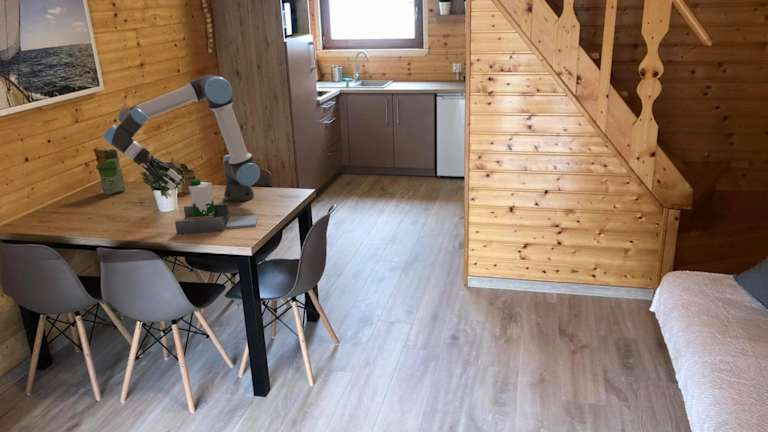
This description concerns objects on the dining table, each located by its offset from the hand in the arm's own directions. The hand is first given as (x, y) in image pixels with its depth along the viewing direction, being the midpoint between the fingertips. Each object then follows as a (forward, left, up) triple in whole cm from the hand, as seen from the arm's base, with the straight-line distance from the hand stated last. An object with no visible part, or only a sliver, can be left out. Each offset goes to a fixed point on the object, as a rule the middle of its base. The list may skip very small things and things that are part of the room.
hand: (177, 183), depth 286 cm
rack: (+4, +10, -19) cm, 22 cm away
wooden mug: (-55, -8, -19) cm, 59 cm away
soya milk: (0, +10, -19) cm, 22 cm away
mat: (+5, +28, -19) cm, 34 cm away
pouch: (-60, -48, -19) cm, 79 cm away
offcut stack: (+9, +10, -19) cm, 23 cm away
